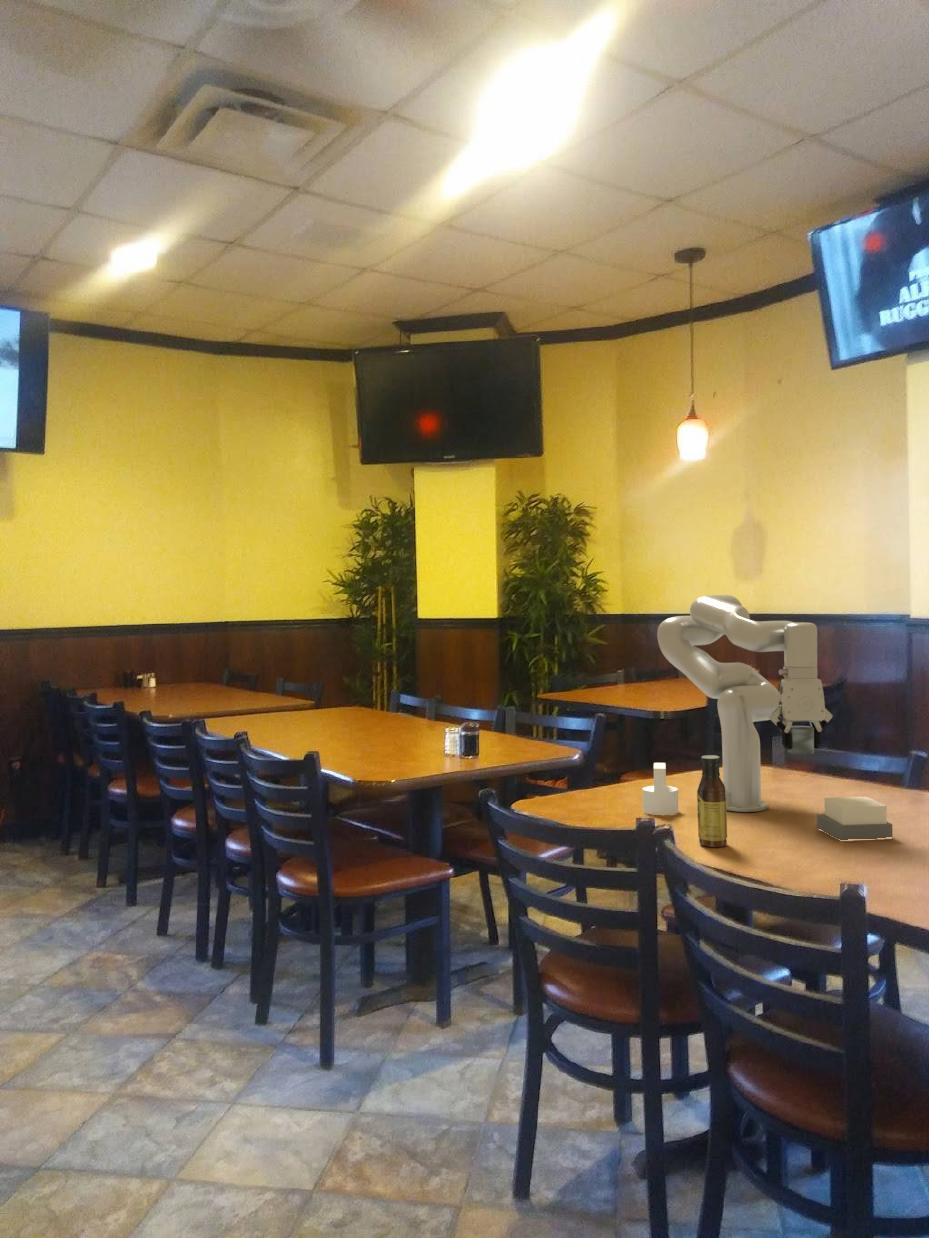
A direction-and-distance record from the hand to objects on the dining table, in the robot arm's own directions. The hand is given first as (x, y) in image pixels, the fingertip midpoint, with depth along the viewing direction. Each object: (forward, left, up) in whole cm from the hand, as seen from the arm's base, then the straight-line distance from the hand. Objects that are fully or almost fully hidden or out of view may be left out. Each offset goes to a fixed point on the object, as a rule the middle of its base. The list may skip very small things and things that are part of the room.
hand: (800, 747), depth 232 cm
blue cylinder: (0, 0, -1) cm, 1 cm away
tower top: (+7, -13, -15) cm, 21 cm away
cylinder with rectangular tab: (-30, +18, -19) cm, 39 cm away
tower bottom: (+7, -12, -19) cm, 24 cm away
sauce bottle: (-28, -16, -19) cm, 37 cm away
